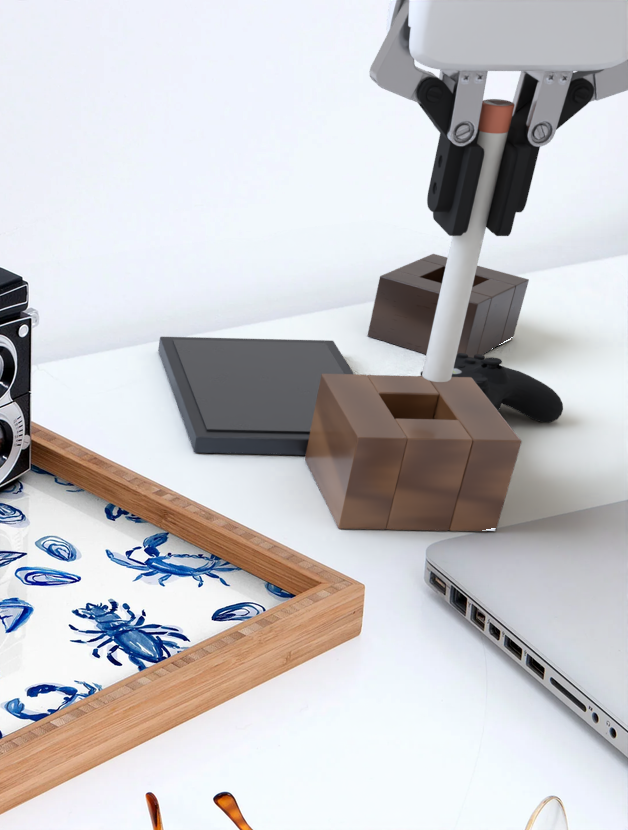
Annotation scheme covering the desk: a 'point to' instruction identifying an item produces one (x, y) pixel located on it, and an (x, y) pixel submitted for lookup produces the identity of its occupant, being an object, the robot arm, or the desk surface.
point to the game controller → (510, 387)
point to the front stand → (410, 453)
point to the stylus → (467, 247)
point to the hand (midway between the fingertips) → (470, 225)
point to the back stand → (418, 297)
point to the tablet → (248, 390)
